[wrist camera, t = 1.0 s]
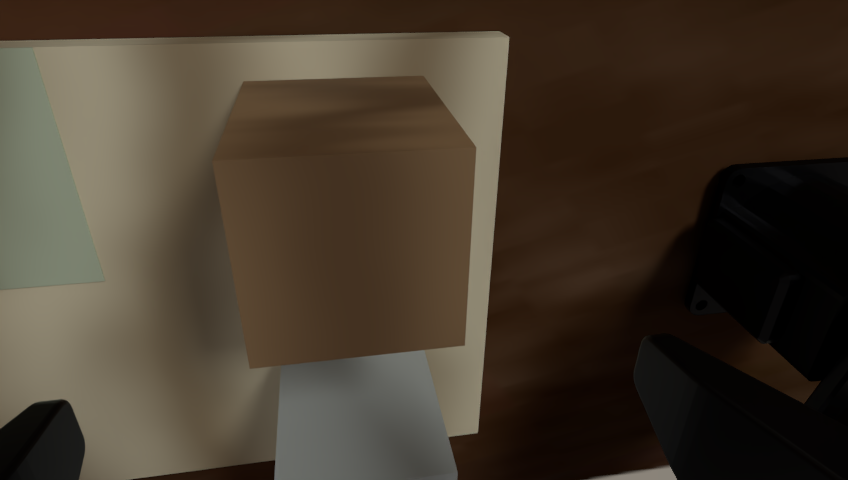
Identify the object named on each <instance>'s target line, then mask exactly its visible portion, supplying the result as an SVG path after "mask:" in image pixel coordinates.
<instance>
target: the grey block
mask: <svg viewBox="0 0 848 480" xmlns="http://www.w3.org/2000/svg"><path fill="white" fill-rule="evenodd" d="M457 473H458V472H457V468H456V465H455V461H454V457H453V454H452V450H451V446H450V443H449V439H448V435H447V431H446V428H445V424H444V420H443V417H442V413H441V409H440V406H439V402H438V398H437V395H436V391H435V387H434V384H433V380H432V376H431V373H430V369H429V365H428V362H427V358H426V354H425V351H424V350H420V351H411V352H401V353H392V354H383V355H374V356H365V357H355V358H346V359H337V360H328V361H319V362H309V363H300V364H291V365H282V366H281V374H280V391H279V408H278V425H277V442H276V460H275V477H274V480H457Z"/></svg>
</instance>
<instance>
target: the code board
mask: <svg viewBox="0 0 848 480" xmlns="http://www.w3.org/2000/svg"><path fill="white" fill-rule="evenodd" d="M508 48H509V37H508V36H507V35H505V34H503V33H501V32H500V31H487V32H436V33H385V34H334V35H282V36H231V37H180V38H129V39H78V40H27V41H0V428H2V427H3V426H4V425H6V424H7V423H8V422H9V421H11V420H12V419H13V418H15V417H16V416H17V415H18V414H20V413H21V412H22V411H23V410H25V409H26V408H27V407H29V406H30V405H32V404H33V403H35V402H39V401H48V400H57V399H64V400H67V401H68V402H69V403H70V404H71V406H72V408H73V411H74V413H75V416H76V418H77V421H78V423H79V426H80V428H81V431H82V434H83V436H84V440H85V455H84V459H83V464H82V468H81V473H80V477H79V480H130V479H137V478H144V477H152V476H159V475H167V474H174V473H182V472H189V471H197V470H204V469H212V468H219V467H227V466H234V465H242V464H249V463H257V462H264V461H271V460H276V442H277V425H278V408H279V391H280V374H281V366H272V367H263V368H254V369H250V368H249V362H248V357H247V351H246V346H245V340H244V335H243V329H242V324H241V318H240V313H239V307H238V302H237V296H236V291H235V285H234V280H233V274H232V268H231V263H230V257H229V252H228V246H227V241H226V235H225V230H224V224H223V219H222V213H221V208H220V202H219V197H218V191H217V186H216V180H215V175H214V169H213V164H212V160H213V157H214V155H215V152H216V150H217V147H218V145H219V142H220V140H221V137H222V134H223V132H224V129H225V127H226V124H227V122H228V119H229V117H230V114H231V112H232V109H233V106H234V104H235V101H236V99H237V96H238V94H239V91H240V89H241V86H242V84H243V81H269V80H301V79H333V78H364V77H396V76H424V77H425V79H426V80H427V81H428V83H429V84H430V85H431V87H432V88H433V89H434V91H435V92H436V93H437V95H438V96H439V97H440V99H441V100H442V101H443V103H444V104H445V105H446V107H447V108H448V110H449V111H450V112H451V114H452V115H453V116H454V118H455V119H456V120H457V122H458V123H459V124H460V126H461V127H462V128H463V130H464V131H465V132H466V134H467V135H468V137H469V138H470V139H471V141H472V142H473V143H474V145H475V146H476V163H475V180H474V197H473V214H472V232H471V249H470V266H469V284H468V301H467V318H466V335H465V346H457V347H447V348H438V349H429V350H424V351H425V354H426V358H427V362H428V365H429V369H430V373H431V376H432V380H433V384H434V387H435V391H436V395H437V398H438V402H439V406H440V409H441V413H442V417H443V420H444V424H445V428H446V431H447V435H448V437H451V436H458V435H466V434H473V433H478V425H479V412H480V400H481V387H482V375H483V362H484V349H485V337H486V324H487V312H488V299H489V287H490V274H491V261H492V249H493V236H494V224H495V211H496V199H497V186H498V174H499V161H500V148H501V136H502V123H503V111H504V98H505V86H506V73H507V60H508Z"/></svg>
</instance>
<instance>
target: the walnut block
mask: <svg viewBox="0 0 848 480" xmlns="http://www.w3.org/2000/svg"><path fill="white" fill-rule="evenodd" d="M475 163H476V146H475V145H474V143H473V142H472V141H471V139H470V138H469V137H468V135H467V134H466V132H465V131H464V130H463V128H462V127H461V126H460V124H459V123H458V122H457V120H456V119H455V118H454V116H453V115H452V114H451V112H450V111H449V110H448V108H447V107H446V105H445V104H444V103H443V101H442V100H441V99H440V97H439V96H438V95H437V93H436V92H435V91H434V89H433V88H432V87H431V85H430V84H429V83H428V81H427V80H426V79H425V77H424V76H396V77H364V78H333V79H301V80H269V81H243V84H242V86H241V89H240V91H239V94H238V96H237V99H236V101H235V104H234V106H233V109H232V112H231V114H230V117H229V119H228V122H227V124H226V127H225V129H224V132H223V134H222V137H221V140H220V142H219V145H218V147H217V150H216V152H215V155H214V157H213V160H212V164H213V169H214V175H215V180H216V186H217V191H218V197H219V202H220V208H221V213H222V219H223V224H224V230H225V235H226V241H227V246H228V252H229V257H230V263H231V268H232V274H233V280H234V285H235V291H236V296H237V302H238V307H239V313H240V318H241V324H242V329H243V335H244V340H245V346H246V351H247V357H248V362H249V368H250V369H254V368H263V367H272V366H282V365H291V364H300V363H309V362H319V361H328V360H337V359H346V358H355V357H365V356H374V355H383V354H392V353H401V352H411V351H420V350H429V349H438V348H447V347H457V346H465V335H466V318H467V301H468V284H469V266H470V249H471V232H472V214H473V197H474V180H475Z"/></svg>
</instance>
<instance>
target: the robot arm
mask: <svg viewBox="0 0 848 480" xmlns="http://www.w3.org/2000/svg"><path fill="white" fill-rule="evenodd" d="M737 176H738V178H737V180H736V181H735V182H733V180H734V178H735V177H737ZM699 301H700V302H699ZM698 302H699V303H698ZM697 303H698V304H697ZM685 306H686V308H687V309H688V310H689V311H690V312H691V313H692V314H694V315H704V314H714V313H723V312H728V313H729V314H730V315H731V316H732V317H733V318H734V319H735V320H736V321H737V322H738V323H740V324H741V325H742V326H743V327H744V328H745V329H746V330H747V331H748V332H749V333H750V334H751V335H752V336H753V337H755V338H756V339H757V340H758V341H759V342H760V343H762V344H766V343H768V344H770V345H771V346H772V347H773V348H774V349H775V350H776V351H777V352H778V353H779V354H780V355H781V356H783V357H784V358H785V359H786V360H787V361H788V362H789V363H790V364H791V365H792V366H793V367H794V368H796V369H797V370H798V371H799V372H800V373H801V374H802V375H803V376H804V377H805V378H806V379H808V380H809V381H820V380H821V382H820V383H819V385H818V386H817V387H816V389H815V390H814V391H813V393H812V394H811V395H810V397H809V398H808V399H807V401H806V402H805V403H804V404H803V403H801V402H799V401H797V400H795V399H793V398H792V397H790V396H788V395H786V394H784V393H782V392H780V391H778V390H776V389H774V388H772V387H771V386H769V385H767V384H765V383H763V382H761V381H759V380H757V379H755V378H753V377H751V376H749V375H748V374H746V373H744V372H742V371H740V370H738V369H736V368H734V367H732V366H730V365H728V364H726V363H725V362H723V361H721V360H719V359H717V358H715V357H713V356H711V355H709V354H707V353H705V352H703V351H702V350H700V349H698V348H696V347H694V346H692V345H690V344H688V343H686V342H684V341H682V340H681V339H679V338H677V337H675V336H673V335H671V334H665V333H664V334H655V335H648V336H645V337H644V338H643V340H642V341H641V345H640V349H639V353H638V357H637V361H636V365H635V369H634V383H635V386H636V389H637V391H638V393H639V396H640V398H641V400H642V403H643V405H644V407H645V410H646V412H647V414H648V417H649V419H650V421H651V424H652V426H653V428H654V431H655V433H656V435H657V438H658V440H659V442H660V445H661V447H662V449H663V451H664V454H665V456H666V458H667V460H668V462H669V465H670V467H671V469H672V471H673V472H674V474H675V476H676V478H677V480H848V157H846V158H830V159H814V160H798V161H782V162H766V163H749V164H735V165H731V166H729V167H728V168H726V169H725V170H724V171H723V172H722V174H721V176H720V179H719V182H718V186H717V189H716V193H715V196H714V200H713V203H712V207H711V210H710V214H709V217H708V221H707V224H706V228H705V232H704V235H703V239H702V242H701V246H700V249H699V253H698V256H697V260H696V263H695V267H694V270H693V274H692V277H691V281H690V284H689V288H688V291H687V295H686V298H685ZM84 455H85V440H84V436H83V434H82V431H81V428H80V426H79V423H78V421H77V418H76V416H75V413H74V411H73V408H72V406H71V404H70V403H69V402H68V401H67V400H64V399H57V400H48V401H39V402H35V403H33V404H32V405H30V406H29V407H27V408H26V409H25V410H23V411H22V412H21V413H20V414H18V415H17V416H16V417H15V418H13V419H12V420H11V421H9V422H8V423H7V424H6V425H4V426H3V427H2V428H0V480H79V477H80V473H81V468H82V464H83V459H84Z"/></svg>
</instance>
